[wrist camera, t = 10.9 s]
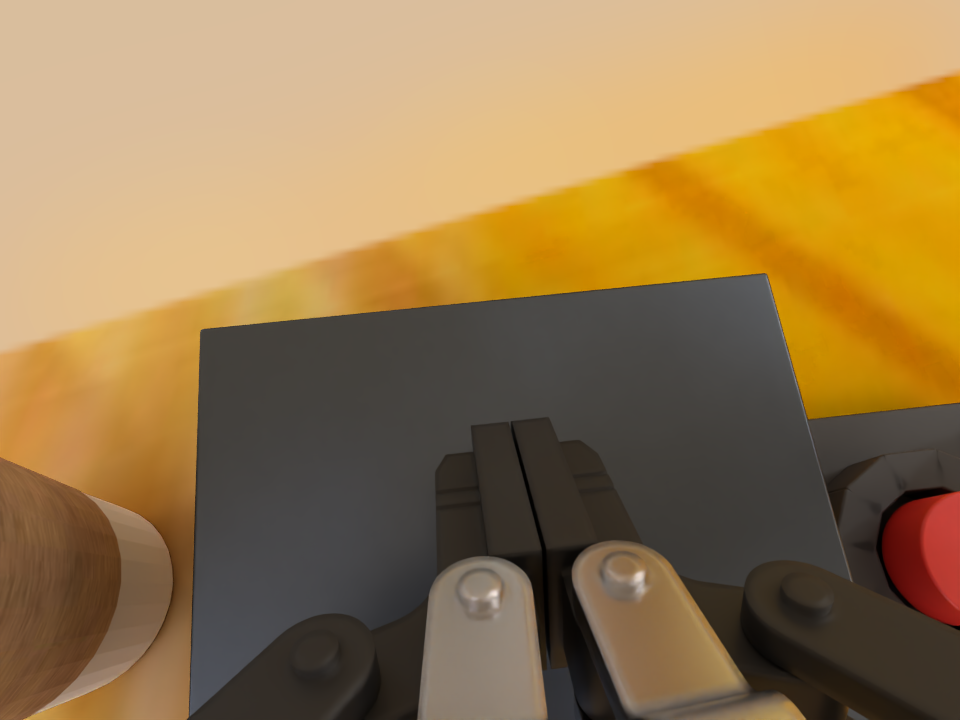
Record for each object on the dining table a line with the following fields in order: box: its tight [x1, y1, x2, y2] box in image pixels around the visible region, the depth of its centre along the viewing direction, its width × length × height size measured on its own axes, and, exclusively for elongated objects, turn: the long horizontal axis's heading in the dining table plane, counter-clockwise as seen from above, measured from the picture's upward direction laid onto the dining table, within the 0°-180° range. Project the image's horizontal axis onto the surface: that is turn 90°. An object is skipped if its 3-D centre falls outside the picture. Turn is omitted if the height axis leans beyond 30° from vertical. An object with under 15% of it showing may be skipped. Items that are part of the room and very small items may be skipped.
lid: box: [189, 273, 869, 720], centre depth 11 cm, size 12×13×1 cm
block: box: [808, 403, 960, 631], centre depth 19 cm, size 8×10×3 cm
